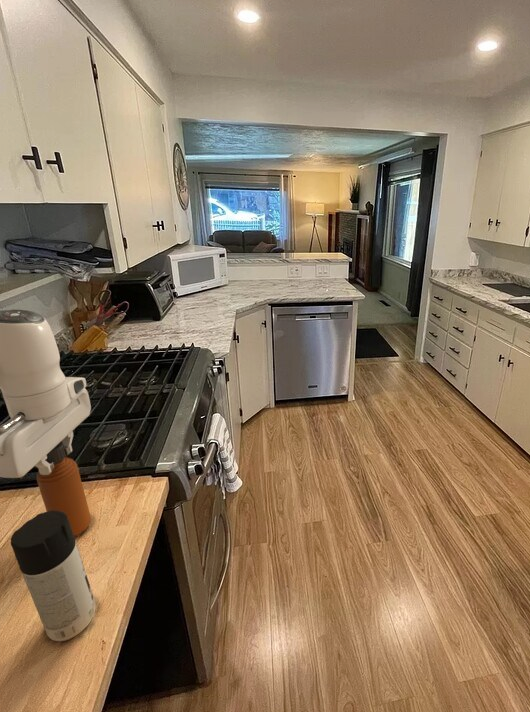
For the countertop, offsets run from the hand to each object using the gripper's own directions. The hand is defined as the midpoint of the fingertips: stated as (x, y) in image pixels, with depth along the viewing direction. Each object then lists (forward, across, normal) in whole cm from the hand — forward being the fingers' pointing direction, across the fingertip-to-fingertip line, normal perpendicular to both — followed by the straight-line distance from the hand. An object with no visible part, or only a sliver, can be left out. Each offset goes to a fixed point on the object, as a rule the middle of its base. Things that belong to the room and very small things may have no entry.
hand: (57, 462), depth 68 cm
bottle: (+16, 0, 0) cm, 16 cm away
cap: (-1, 0, 0) cm, 1 cm away
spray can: (+17, -18, -10) cm, 27 cm away
